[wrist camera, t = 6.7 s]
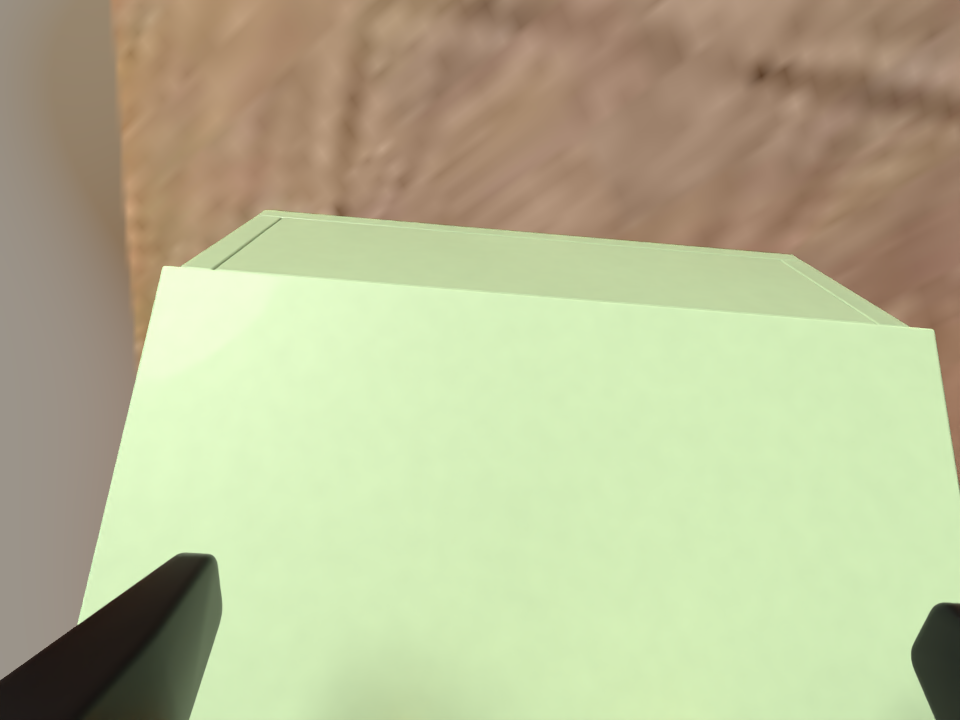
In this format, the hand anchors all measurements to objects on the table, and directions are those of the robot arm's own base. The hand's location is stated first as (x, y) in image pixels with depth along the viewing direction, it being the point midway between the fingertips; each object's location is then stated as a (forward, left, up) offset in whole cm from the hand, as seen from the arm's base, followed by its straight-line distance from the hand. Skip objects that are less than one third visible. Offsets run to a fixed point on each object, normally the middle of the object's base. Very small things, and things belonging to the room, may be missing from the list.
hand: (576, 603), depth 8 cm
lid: (-3, 0, -2) cm, 4 cm away
